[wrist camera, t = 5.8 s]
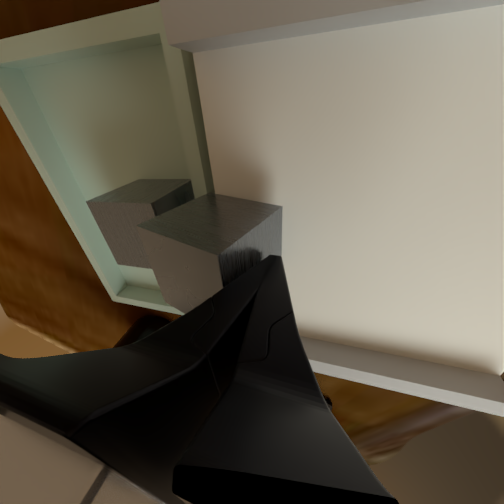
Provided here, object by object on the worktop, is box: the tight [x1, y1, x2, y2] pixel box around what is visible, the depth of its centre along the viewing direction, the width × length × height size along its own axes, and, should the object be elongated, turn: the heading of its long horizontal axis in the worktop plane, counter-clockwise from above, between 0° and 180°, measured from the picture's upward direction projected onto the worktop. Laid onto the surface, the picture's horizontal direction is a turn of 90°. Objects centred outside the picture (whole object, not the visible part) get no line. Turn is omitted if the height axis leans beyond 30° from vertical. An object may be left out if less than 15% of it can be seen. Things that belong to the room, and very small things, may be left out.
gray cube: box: [86, 179, 195, 269], centre depth 14 cm, size 4×4×4 cm
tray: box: [0, 2, 215, 315], centre depth 15 cm, size 18×12×2 cm, turn 4°
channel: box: [159, 0, 504, 417], centre depth 11 cm, size 17×15×4 cm
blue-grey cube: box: [136, 192, 283, 314], centre depth 10 cm, size 4×4×4 cm
